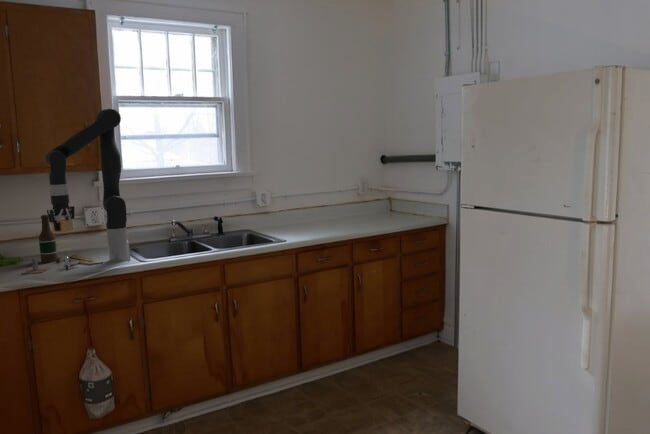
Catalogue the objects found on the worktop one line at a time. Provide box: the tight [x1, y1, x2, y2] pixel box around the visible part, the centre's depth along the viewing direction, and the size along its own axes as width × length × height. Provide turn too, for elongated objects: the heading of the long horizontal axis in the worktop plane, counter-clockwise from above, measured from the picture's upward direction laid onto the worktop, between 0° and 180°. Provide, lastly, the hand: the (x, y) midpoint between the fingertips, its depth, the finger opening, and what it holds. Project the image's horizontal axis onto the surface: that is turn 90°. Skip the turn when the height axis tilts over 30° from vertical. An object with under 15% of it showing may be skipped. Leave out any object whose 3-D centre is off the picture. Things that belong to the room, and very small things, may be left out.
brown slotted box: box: [51, 218, 74, 233], centre depth 249 cm, size 6×6×5 cm
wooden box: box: [21, 257, 50, 275], centre depth 248 cm, size 9×9×7 cm
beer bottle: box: [38, 214, 58, 264], centre depth 273 cm, size 8×8×24 cm
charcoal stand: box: [56, 256, 79, 272], centre depth 252 cm, size 7×7×6 cm
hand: (63, 229), depth 249 cm, fingers closed on brown slotted box, 6 cm apart
